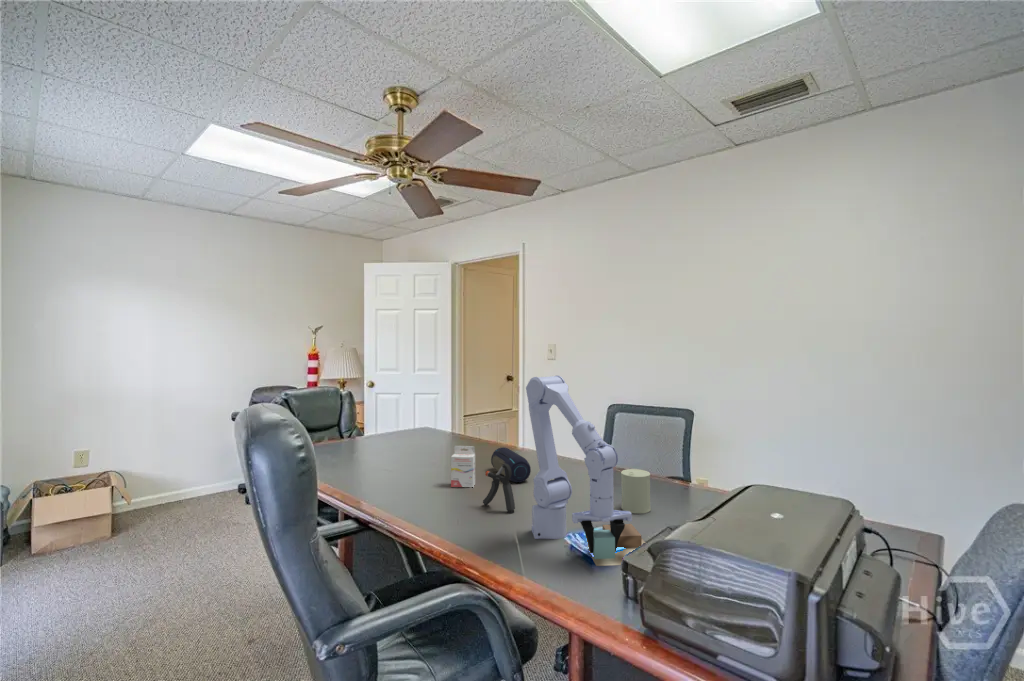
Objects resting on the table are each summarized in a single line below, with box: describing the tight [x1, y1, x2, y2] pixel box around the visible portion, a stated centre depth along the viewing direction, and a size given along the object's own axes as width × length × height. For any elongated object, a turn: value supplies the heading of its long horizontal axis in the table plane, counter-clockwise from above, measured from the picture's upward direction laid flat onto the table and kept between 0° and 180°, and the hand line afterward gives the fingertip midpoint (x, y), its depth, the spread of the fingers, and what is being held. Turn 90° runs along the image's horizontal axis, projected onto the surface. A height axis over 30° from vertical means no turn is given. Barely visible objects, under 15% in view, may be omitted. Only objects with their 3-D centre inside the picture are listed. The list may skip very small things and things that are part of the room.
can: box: [620, 468, 652, 515], centre depth 154 cm, size 9×9×12 cm
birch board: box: [591, 538, 646, 567], centre depth 122 cm, size 16×18×1 cm
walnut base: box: [601, 523, 643, 548], centre depth 126 cm, size 8×8×3 cm
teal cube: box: [593, 529, 615, 559], centre depth 118 cm, size 5×5×5 cm
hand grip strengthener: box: [482, 463, 516, 514], centre depth 155 cm, size 2×12×15 cm, turn 51°
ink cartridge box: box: [450, 445, 476, 488], centre depth 180 cm, size 9×5×15 cm, turn 84°
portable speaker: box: [490, 447, 532, 483], centre depth 193 cm, size 25×10×10 cm, turn 21°
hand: (602, 550), depth 118 cm, fingers closed on teal cube, 5 cm apart
